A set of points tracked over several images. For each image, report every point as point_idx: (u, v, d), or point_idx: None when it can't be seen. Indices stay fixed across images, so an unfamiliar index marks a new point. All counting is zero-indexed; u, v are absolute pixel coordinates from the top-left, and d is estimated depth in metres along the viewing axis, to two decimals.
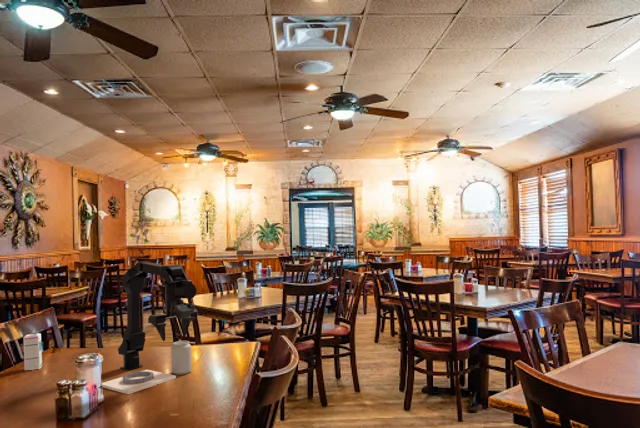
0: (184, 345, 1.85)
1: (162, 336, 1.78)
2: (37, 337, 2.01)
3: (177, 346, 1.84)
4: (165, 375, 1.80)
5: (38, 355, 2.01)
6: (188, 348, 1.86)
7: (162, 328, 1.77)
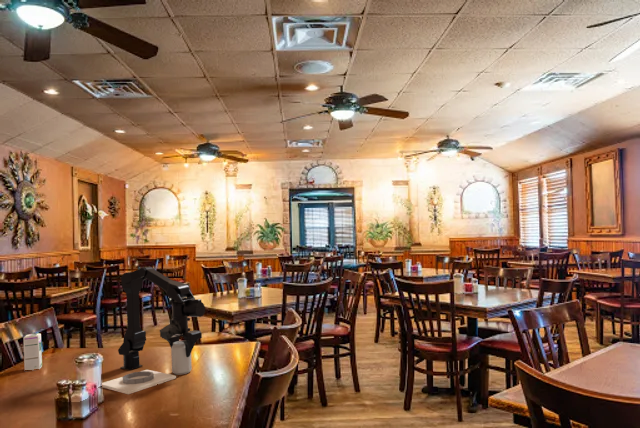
0: (184, 345, 1.85)
1: None
2: (37, 337, 2.01)
3: (177, 346, 1.84)
4: (165, 375, 1.80)
5: (38, 355, 2.01)
6: None
7: (169, 342, 1.89)
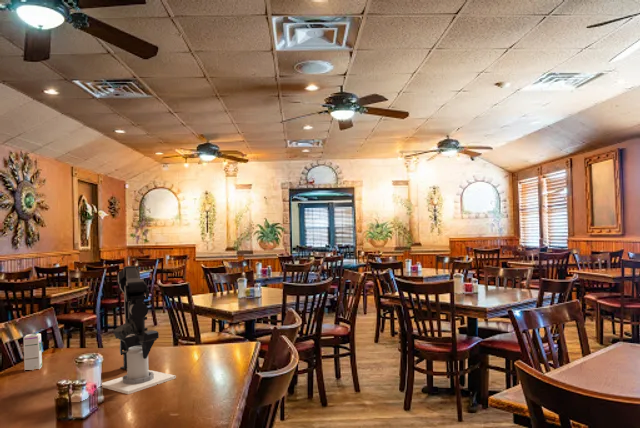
0: (140, 350, 1.75)
1: None
2: (37, 337, 2.01)
3: (132, 351, 1.74)
4: (165, 375, 1.80)
5: (38, 355, 2.01)
6: None
7: (124, 342, 1.79)
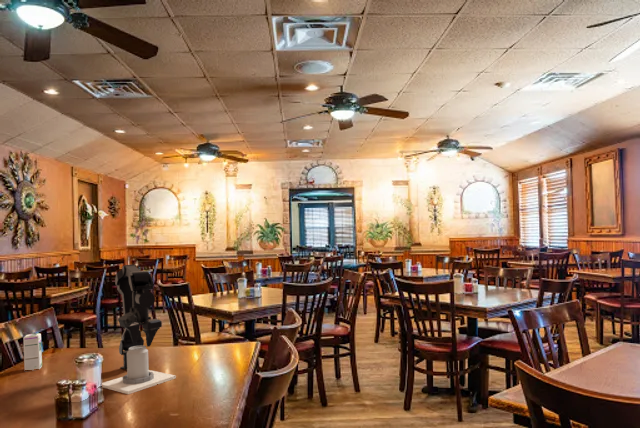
0: (140, 350, 1.75)
1: None
2: (37, 337, 2.01)
3: (132, 351, 1.74)
4: (165, 375, 1.80)
5: (38, 355, 2.01)
6: (144, 353, 1.75)
7: (128, 330, 1.85)
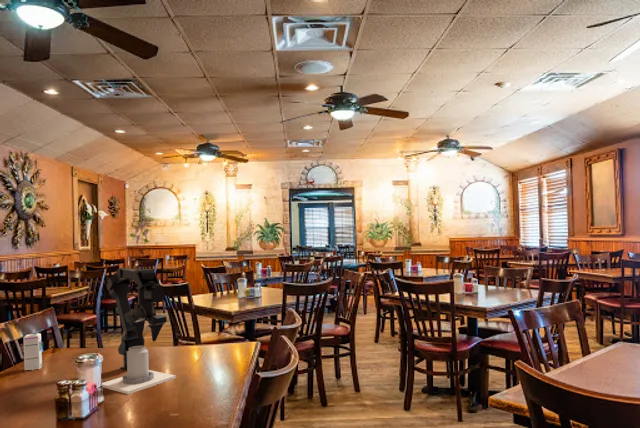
0: (140, 350, 1.75)
1: None
2: (37, 337, 2.01)
3: (132, 351, 1.74)
4: (165, 375, 1.80)
5: (38, 355, 2.01)
6: (145, 353, 1.75)
7: (134, 327, 1.91)
